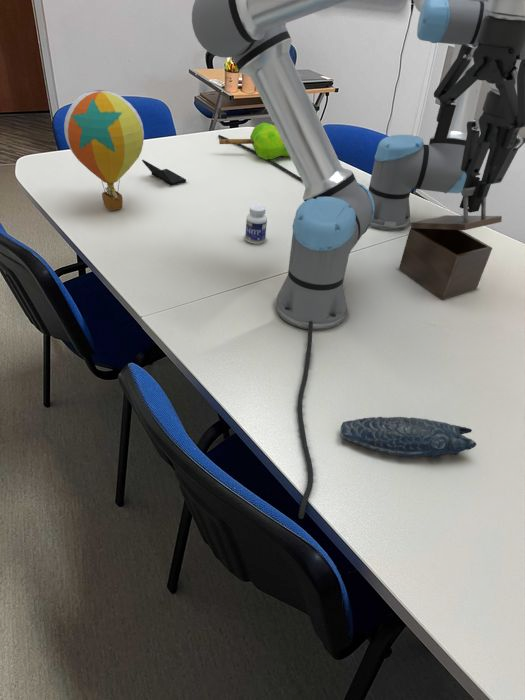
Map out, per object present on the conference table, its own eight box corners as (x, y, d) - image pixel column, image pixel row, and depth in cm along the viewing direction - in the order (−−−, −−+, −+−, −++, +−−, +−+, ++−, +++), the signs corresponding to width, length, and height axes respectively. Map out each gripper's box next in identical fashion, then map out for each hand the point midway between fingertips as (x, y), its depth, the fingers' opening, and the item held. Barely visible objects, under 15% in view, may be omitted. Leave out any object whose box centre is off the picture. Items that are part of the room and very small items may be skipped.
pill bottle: (242, 241, 135) (244, 209, 130) (249, 233, 139) (251, 201, 134) (261, 245, 134) (263, 213, 129) (268, 237, 138) (270, 205, 132)
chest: (476, 289, 125) (492, 247, 118) (441, 299, 120) (456, 257, 113) (432, 260, 135) (444, 220, 128) (398, 269, 130) (409, 228, 123)
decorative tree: (216, 119, 186) (297, 119, 192) (216, 149, 193) (294, 148, 198) (222, 134, 173) (309, 133, 178) (222, 165, 179) (306, 163, 185)
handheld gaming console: (190, 175, 164) (173, 153, 156) (179, 193, 163) (161, 172, 155) (166, 170, 170) (147, 148, 162) (155, 188, 169) (136, 167, 161)
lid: (501, 221, 115) (502, 183, 112) (464, 230, 110) (465, 189, 107) (445, 220, 128) (445, 185, 125) (410, 228, 123) (409, 192, 120)
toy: (64, 203, 145) (44, 85, 127) (127, 189, 156) (117, 79, 137) (97, 229, 134) (80, 105, 116) (162, 213, 145) (156, 96, 126)
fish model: (474, 470, 81) (484, 449, 78) (339, 453, 82) (344, 431, 79) (465, 439, 86) (475, 417, 83) (339, 423, 87) (344, 401, 84)
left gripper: (595, 30, 76) (536, 174, 89) (465, 6, 92) (432, 131, 105) (563, 30, 72) (507, 179, 86) (435, 5, 88) (404, 134, 102)
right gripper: (553, 101, 97) (506, 220, 111) (491, 83, 106) (456, 194, 121) (527, 103, 93) (483, 225, 108) (466, 84, 103) (432, 198, 118)
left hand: (466, 153), depth 95 cm, fingers open, 13 cm apart
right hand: (468, 208), depth 114 cm, fingers closed on lid, 2 cm apart
